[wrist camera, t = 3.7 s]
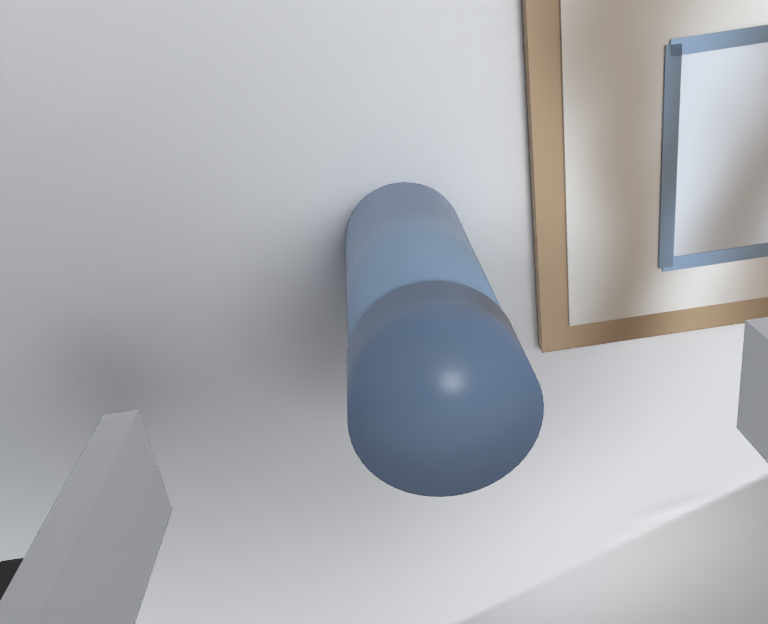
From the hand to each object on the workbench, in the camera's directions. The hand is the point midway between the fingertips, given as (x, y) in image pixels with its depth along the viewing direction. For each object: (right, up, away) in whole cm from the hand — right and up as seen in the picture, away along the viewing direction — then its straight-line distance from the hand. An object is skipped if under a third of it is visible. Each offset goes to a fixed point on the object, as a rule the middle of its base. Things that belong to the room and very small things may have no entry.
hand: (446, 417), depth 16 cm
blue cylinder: (-1, +5, +9) cm, 10 cm away
